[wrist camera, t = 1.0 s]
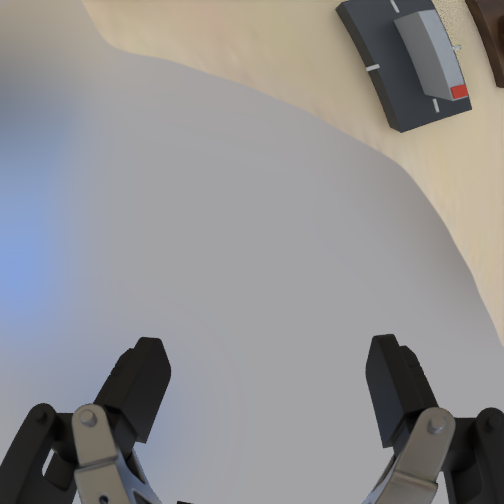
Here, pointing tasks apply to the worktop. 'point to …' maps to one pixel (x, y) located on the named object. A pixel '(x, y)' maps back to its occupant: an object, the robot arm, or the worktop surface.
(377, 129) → the worktop surface
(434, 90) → the grey switch lever
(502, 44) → the button block
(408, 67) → the base
